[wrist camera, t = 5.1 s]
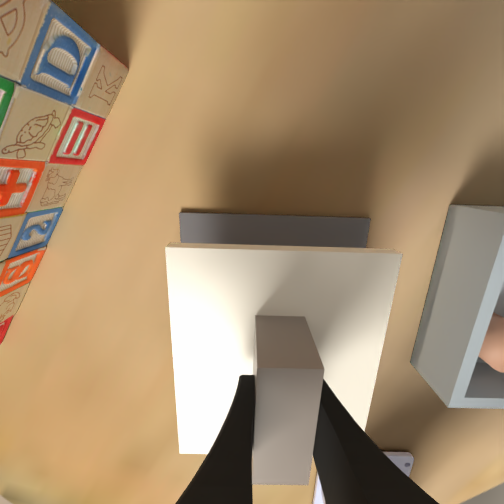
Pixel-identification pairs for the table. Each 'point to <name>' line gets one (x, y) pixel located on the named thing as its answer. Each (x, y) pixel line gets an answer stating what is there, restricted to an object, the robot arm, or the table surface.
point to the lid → (275, 341)
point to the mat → (273, 230)
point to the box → (465, 311)
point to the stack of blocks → (44, 130)
